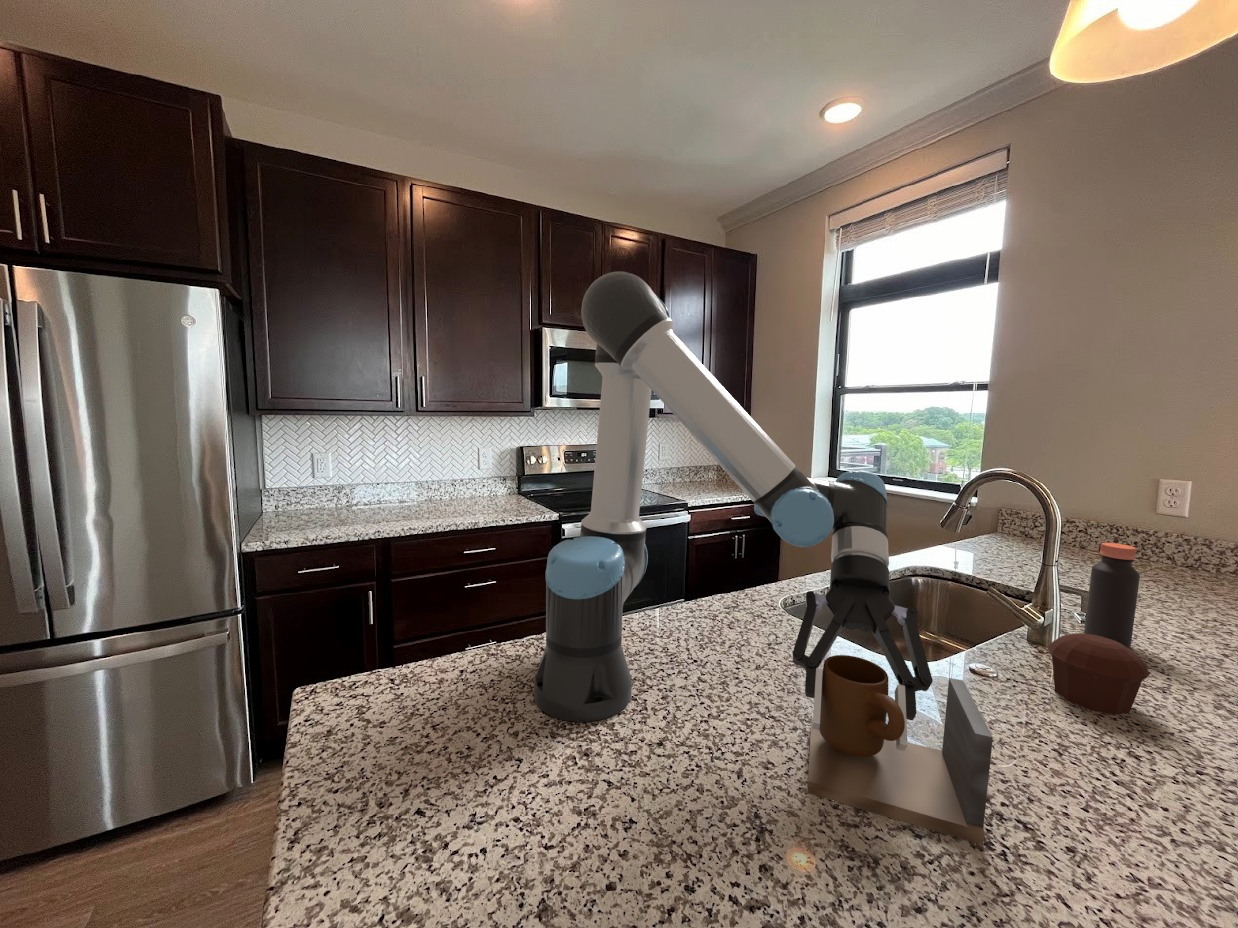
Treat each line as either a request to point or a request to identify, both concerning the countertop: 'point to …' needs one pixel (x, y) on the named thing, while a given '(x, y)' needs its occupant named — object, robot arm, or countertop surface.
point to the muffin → (1096, 672)
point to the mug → (857, 706)
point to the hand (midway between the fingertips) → (857, 736)
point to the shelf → (916, 774)
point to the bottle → (1113, 594)
